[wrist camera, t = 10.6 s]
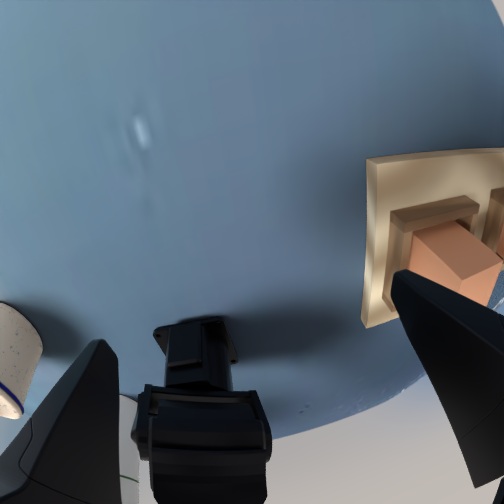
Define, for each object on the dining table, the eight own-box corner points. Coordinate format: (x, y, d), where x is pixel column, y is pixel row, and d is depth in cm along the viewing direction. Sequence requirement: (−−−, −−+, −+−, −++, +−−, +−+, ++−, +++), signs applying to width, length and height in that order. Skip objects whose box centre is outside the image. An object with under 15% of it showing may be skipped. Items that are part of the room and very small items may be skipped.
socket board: (502, 260, 27) (539, 297, 20) (360, 318, 27) (396, 385, 20) (525, 147, 19) (578, 176, 11) (365, 158, 18) (446, 206, 11)
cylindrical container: (91, 386, 28) (75, 572, 7) (145, 400, 30) (148, 586, 9) (92, 408, 31) (81, 564, 10) (139, 421, 33) (141, 576, 12)
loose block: (440, 263, 23) (484, 310, 17) (400, 277, 23) (443, 332, 17) (449, 216, 20) (503, 260, 14) (406, 228, 20) (462, 280, 14)
